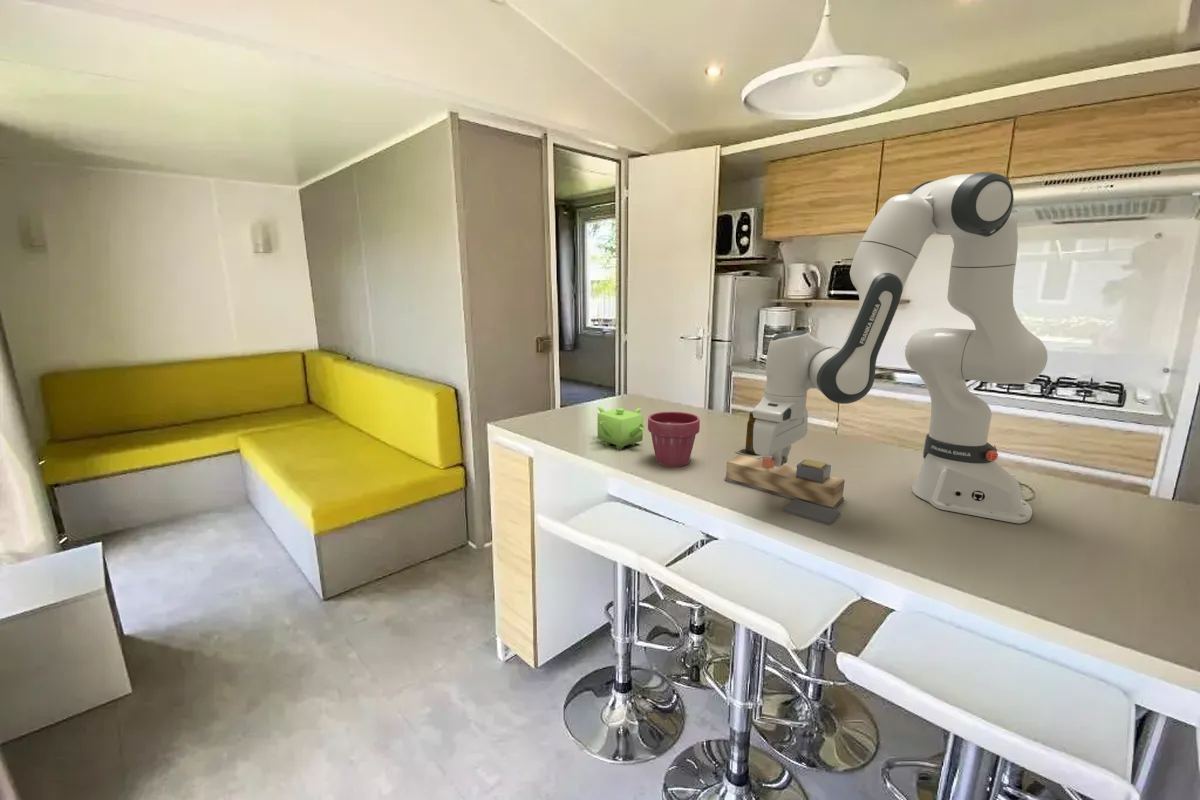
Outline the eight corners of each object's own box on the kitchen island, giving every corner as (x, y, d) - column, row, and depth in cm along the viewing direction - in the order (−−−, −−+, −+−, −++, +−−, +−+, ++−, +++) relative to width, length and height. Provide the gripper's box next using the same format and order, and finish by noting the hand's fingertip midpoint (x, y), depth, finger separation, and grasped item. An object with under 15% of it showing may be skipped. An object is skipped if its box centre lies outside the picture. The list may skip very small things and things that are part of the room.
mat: (840, 513, 113) (840, 511, 112) (830, 525, 107) (830, 522, 107) (794, 501, 119) (795, 498, 119) (782, 511, 114) (783, 508, 114)
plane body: (843, 499, 120) (846, 479, 119) (833, 510, 114) (835, 489, 113) (738, 472, 137) (739, 454, 135) (724, 480, 131) (725, 461, 130)
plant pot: (655, 450, 154) (656, 408, 151) (702, 456, 149) (704, 413, 146) (640, 466, 141) (641, 420, 138) (691, 473, 136) (693, 426, 133)
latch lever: (772, 485, 115) (774, 460, 114) (760, 483, 116) (762, 459, 114) (772, 464, 128) (774, 442, 126) (762, 463, 128) (763, 441, 127)
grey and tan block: (829, 477, 120) (831, 463, 119) (822, 483, 116) (824, 469, 115) (803, 471, 124) (805, 457, 123) (795, 477, 120) (797, 462, 119)
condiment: (772, 452, 152) (775, 413, 150) (757, 459, 147) (760, 418, 144) (750, 446, 158) (753, 408, 155) (735, 453, 152) (737, 413, 149)
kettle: (597, 436, 167) (597, 402, 165) (641, 437, 167) (641, 403, 165) (596, 451, 153) (596, 414, 150) (644, 452, 153) (645, 415, 150)
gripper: (790, 395, 123) (786, 450, 126) (748, 411, 109) (745, 473, 112) (817, 399, 119) (812, 456, 122) (777, 416, 105) (773, 480, 108)
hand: (779, 464), depth 117 cm, fingers closed
